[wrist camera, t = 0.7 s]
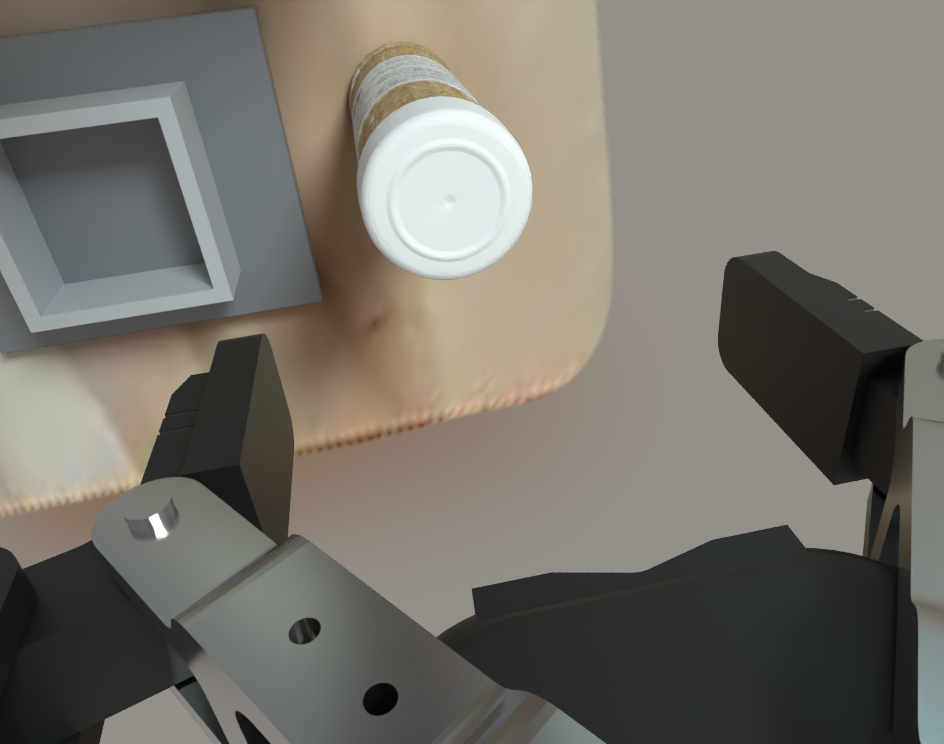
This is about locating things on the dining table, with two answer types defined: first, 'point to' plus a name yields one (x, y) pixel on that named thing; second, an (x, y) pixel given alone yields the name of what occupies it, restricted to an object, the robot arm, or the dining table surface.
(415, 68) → the sprinkles bottle
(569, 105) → the dining table surface
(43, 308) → the bottle stand
